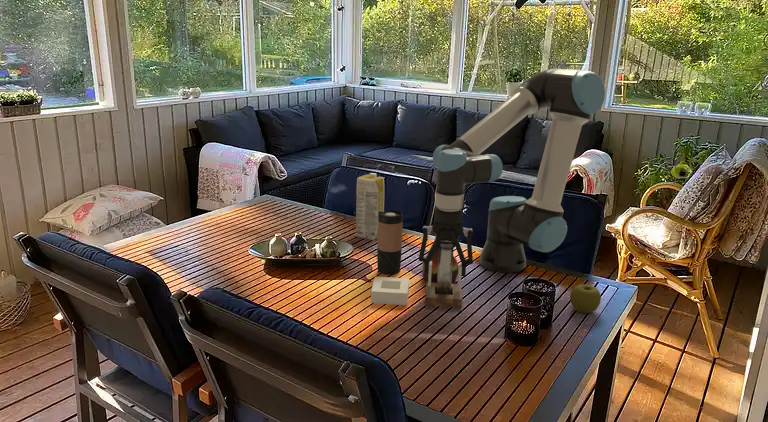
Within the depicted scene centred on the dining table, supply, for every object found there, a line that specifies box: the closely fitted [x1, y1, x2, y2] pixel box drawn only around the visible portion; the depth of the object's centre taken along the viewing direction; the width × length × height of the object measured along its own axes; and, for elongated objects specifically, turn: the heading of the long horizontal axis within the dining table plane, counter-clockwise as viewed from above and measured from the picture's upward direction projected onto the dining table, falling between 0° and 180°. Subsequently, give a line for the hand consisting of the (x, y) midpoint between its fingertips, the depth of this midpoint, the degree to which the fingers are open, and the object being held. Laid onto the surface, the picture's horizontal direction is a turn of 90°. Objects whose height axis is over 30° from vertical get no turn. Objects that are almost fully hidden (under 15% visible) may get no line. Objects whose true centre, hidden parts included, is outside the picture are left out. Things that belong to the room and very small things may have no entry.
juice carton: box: [355, 172, 385, 241], centre depth 207 cm, size 9×8×24 cm
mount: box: [424, 281, 463, 309], centre depth 159 cm, size 10×10×4 cm
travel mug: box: [376, 209, 404, 276], centre depth 175 cm, size 8×8×20 cm
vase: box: [421, 234, 459, 284], centre depth 170 cm, size 11×11×15 cm
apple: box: [569, 284, 602, 314], centre depth 155 cm, size 8×8×7 cm
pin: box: [436, 241, 456, 295], centre depth 157 cm, size 5×5×17 cm
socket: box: [370, 276, 410, 306], centre depth 160 cm, size 10×10×4 cm
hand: (444, 285), depth 158 cm, fingers open, 8 cm apart
